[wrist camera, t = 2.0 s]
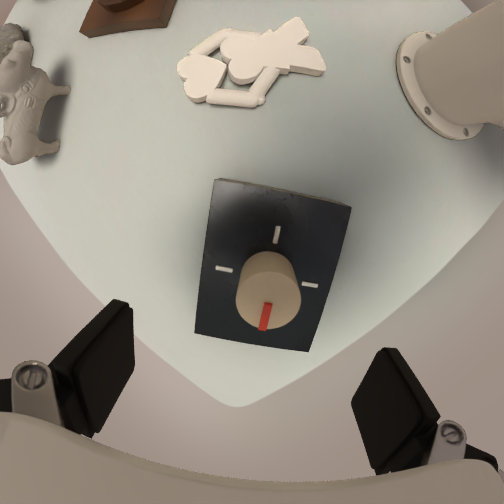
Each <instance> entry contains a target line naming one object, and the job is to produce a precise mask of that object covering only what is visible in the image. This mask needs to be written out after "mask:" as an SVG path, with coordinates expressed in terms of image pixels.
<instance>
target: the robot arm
mask: <svg viewBox="0 0 504 504" xmlns="http://www.w3.org/2000/svg"><path fill="white" fill-rule="evenodd" d="M396 63H397V73H398V76H399V80H400V84H401V86H402V89H403V91H404V94H405V95H406V97H407V99H408V101H409V103H410V105H411V106H412V107H413V109H414V110H415V112H416V113H417V115H418V116H419V117H420V118H421V119H422V120H423V121H424V122H425V123H426V124H427V125H428V126H429V127H430V128H431V129H432V130H434V131H435V132H437V133H438V134H440V135H442V136H444V137H446V138H449V139H454V140H466V139H470V138H473V137H474V136H476V135H477V134H478V133H479V132H480V130H481V129H482V127H483V125H484V123H491V124H493V125H496V124H497V125H499V127H500V128H502V129H503V130H504V0H496V1H494V2H493V3H491V4H489V5H487V6H485V7H483V8H482V9H480V10H478V11H476V12H475V13H473V14H471V15H469V16H468V17H466V18H464V19H462V20H461V21H459V22H457V23H456V24H454V25H453V26H451V27H449V28H448V29H446V30H445V31H443V32H441V33H440V34H435V33H432V32H425V31H422V32H416V33H414V34H411V35H410V36H408V37H407V38H406V39H405V40H404V41H403V42H402V43H401V45H400V47H399V49H398V52H397V60H396ZM134 367H135V356H134V332H133V309H132V308H130V307H129V304H128V303H127V302H123V301H120V300H116V299H113V300H112V301H111V302H110V303H109V304H108V305H107V306H106V307H105V308H104V309H103V310H102V311H101V312H99V314H98V315H96V316H95V318H93V319H92V320H91V321H90V322H89V324H87V325H86V326H85V327H84V328H83V329H82V330H81V331H80V332H79V333H78V334H77V335H76V336H75V337H74V338H73V339H72V340H71V341H70V342H69V343H68V345H67V346H66V347H65V348H64V349H63V350H62V351H61V352H60V353H59V354H58V355H57V356H56V357H55V358H54V359H53V360H52V362H51V363H50V364H49V365H48V366H47V365H46V364H44V363H42V362H39V361H35V360H29V361H24V362H22V363H20V364H19V365H18V366H16V367H15V369H14V370H13V372H12V377H11V378H10V379H1V380H0V504H504V472H503V471H501V470H499V471H498V464H497V460H496V458H495V457H494V456H492V455H490V454H488V453H486V452H484V451H481V450H479V449H477V448H475V447H473V446H470V445H468V444H466V440H467V437H466V433H465V430H464V429H463V428H462V427H461V426H460V425H459V424H458V423H456V422H454V421H451V420H445V421H442V422H441V423H440V424H439V425H438V424H437V421H438V419H439V418H440V414H439V413H438V411H437V409H436V408H435V406H434V404H433V403H432V401H431V400H430V398H429V397H428V395H427V393H426V392H425V390H424V388H423V387H422V385H421V384H420V382H419V381H418V379H417V378H416V376H415V374H414V373H413V372H412V370H411V369H410V367H409V365H408V364H407V362H406V361H405V359H404V358H403V357H402V355H401V354H400V352H399V351H398V349H396V348H386V347H384V348H382V349H381V350H380V351H378V352H377V353H376V355H375V357H374V359H373V361H372V363H371V365H370V367H369V369H368V371H367V373H366V375H365V376H364V378H363V380H362V382H361V384H360V386H359V387H358V389H357V391H356V393H355V395H354V396H353V398H352V401H351V406H352V409H353V412H354V415H355V418H356V421H357V424H358V427H359V430H360V433H361V437H362V440H363V443H364V446H365V449H366V452H367V456H368V459H369V462H370V465H371V468H372V469H374V470H375V473H376V475H377V476H370V477H364V478H356V479H347V480H336V481H318V482H273V481H257V480H246V479H237V478H229V477H222V476H215V475H209V474H204V473H198V472H193V471H188V470H184V469H180V468H175V467H171V466H167V465H163V464H160V463H156V462H153V461H149V460H146V459H143V458H140V457H137V456H134V455H131V454H128V453H124V452H122V451H119V450H116V449H113V448H111V447H108V446H105V445H103V444H101V443H98V442H96V441H93V440H91V439H89V438H92V437H93V435H94V433H95V432H96V433H99V432H100V431H101V429H102V427H103V425H104V423H105V421H106V419H107V418H108V416H109V414H110V412H111V410H112V408H113V407H114V405H115V403H116V401H117V399H118V397H119V396H120V394H121V392H122V390H123V388H124V387H125V385H126V383H127V381H128V380H129V378H130V376H131V374H132V373H133V371H134ZM81 434H83V435H85V436H87V437H89V438H87V437H84V436H82V435H81ZM390 471H391V473H389V472H390ZM387 473H388V474H387ZM382 474H383V475H382Z"/></svg>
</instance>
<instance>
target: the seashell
mask: <svg viewBox="0 0 504 504" xmlns="http://www.w3.org/2000/svg"><path fill="white" fill-rule="evenodd" d="M19 40H22V41H24V37H23V32H22V29H21V27H20V26H19V25H18V24H15V25H14V24H12V23H8V24H5V25H3V26H2V27H0V64H1V62H2V60H3V59H4V58H5V57H6V56H7V55H8V54H9V53H10V52H11V50H12V48H13V45H14V43H15V42H16V41H19Z"/></svg>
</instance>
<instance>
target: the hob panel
mask: <svg viewBox="0 0 504 504" xmlns="http://www.w3.org/2000/svg"><path fill="white" fill-rule="evenodd" d="M351 209H352V207H350V206H348V205H346V204H343V203H341V202H337V201H332V200H328V199H324V198H320V197H315V196H311V195H306V194H302V193H297V192H292V191H288V190H283V189H278V188H273V187H268V186H262V185H257V184H252V183H246V182H240V181H235V180H229V179H223V178H219V179H215V180H214V186H213V192H212V198H211V204H210V211H209V217H208V224H207V231H206V238H205V245H204V253H203V260H202V268H201V276H200V284H199V293H198V302H197V311H196V321H195V331H194V333H196V334H201V335H206V336H211V337H216V338H221V339H226V340H231V341H237V342H242V343H248V344H254V345H260V346H267V347H273V348H280V349H288V350H295V351H304V352H309V349H310V347H311V344H312V341H313V338H314V335H315V333H316V330H317V327H318V324H319V321H320V318H321V315H322V312H323V309H324V306H325V303H326V300H327V297H328V293H329V290H330V287H331V284H332V280H333V277H334V273H335V270H336V267H337V263H338V260H339V256H340V252H341V249H342V245H343V241H344V237H345V233H346V230H347V226H348V221H349V217H350V213H351ZM265 251H271V252H276V253H279V254H281V255H283V256H284V257H285V258H286V259H288V261H289V262H290V263H291V265H292V267H293V270H294V273H295V277H296V280H297V283H298V287H299V290H300V294H301V305H300V308H299V311H298V313H297V314H296V316H295V317H294V318H293V319H292V320H291V321H290V322H289V323H287V324H285V325H283V326H281V327H278V328H274V329H266V331H263V330H258V327H255V326H253V325H251V324H249V323H248V322H246V321H245V320H244V319H243V318H242V317H241V315H240V314H239V312H238V309H237V306H236V294H237V289H238V284H239V280H240V275H241V270H242V268H243V265H244V264H245V262H246V261H247V260H248V259H249V258H250V257H251V256H253V255H255V254H257V253H260V252H265Z"/></svg>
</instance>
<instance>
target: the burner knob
mask: <svg viewBox="0 0 504 504" xmlns="http://www.w3.org/2000/svg"><path fill="white" fill-rule="evenodd" d="M300 305H301V294H300V290H299V287H298V283H297V280H296V277H295V273H294V270H293V267H292V265H291V263H290V262H289V261H288V259H286V258H285V257H284V256H283V255H281V254H279V253H276V252H271V251H265V252H260V253H257V254H255V255H253V256H251V257H250V258H249V259H248V260H247V261H246V262H245V264H244V265H243V268H242V270H241V275H240V280H239V284H238V289H237V294H236V306H237V309H238V312H239V314H240V315H241V317H242V318H243V319H244V320H245V321H246V322H248V323H249V324H251V325H253V326H255V327H258V330H263V331H266V329H274V328H278V327H281V326H283V325H285V324H287V323H289V322H290V321H291V320H292V319H293V318H294V317H295V316H296V314H297V313H298V311H299V308H300Z"/></svg>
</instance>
